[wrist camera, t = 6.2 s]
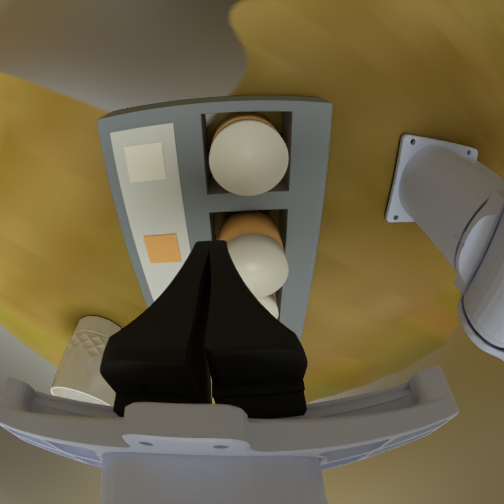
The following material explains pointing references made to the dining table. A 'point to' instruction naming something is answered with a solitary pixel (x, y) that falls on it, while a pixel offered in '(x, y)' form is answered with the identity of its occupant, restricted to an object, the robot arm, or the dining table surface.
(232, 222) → the button
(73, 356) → the white cup
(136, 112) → the board
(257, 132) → the button
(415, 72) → the dining table surface
